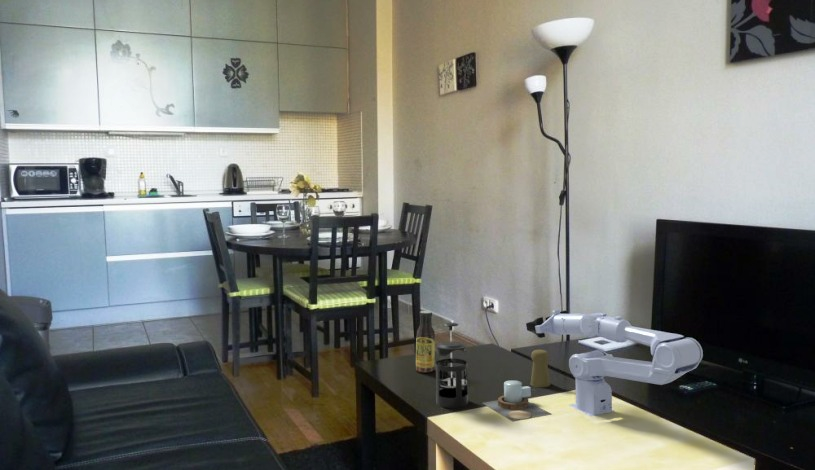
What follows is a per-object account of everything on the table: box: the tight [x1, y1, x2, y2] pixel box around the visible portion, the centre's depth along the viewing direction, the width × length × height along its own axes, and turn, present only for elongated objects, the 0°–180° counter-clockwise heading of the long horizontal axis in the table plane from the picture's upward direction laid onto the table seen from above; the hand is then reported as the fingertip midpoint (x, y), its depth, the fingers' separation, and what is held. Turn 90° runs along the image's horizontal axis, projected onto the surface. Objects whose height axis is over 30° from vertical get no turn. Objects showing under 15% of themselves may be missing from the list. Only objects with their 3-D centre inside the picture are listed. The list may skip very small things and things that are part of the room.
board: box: [482, 394, 552, 422], centre depth 172 cm, size 16×12×2 cm
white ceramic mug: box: [503, 380, 532, 403], centre depth 176 cm, size 8×5×6 cm, turn 113°
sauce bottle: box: [415, 310, 436, 374], centre depth 212 cm, size 7×6×20 cm
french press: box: [434, 322, 469, 409], centre depth 178 cm, size 12×9×23 cm
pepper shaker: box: [530, 349, 551, 388], centre depth 193 cm, size 6×6×11 cm
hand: (537, 323), depth 188 cm, fingers open, 7 cm apart
